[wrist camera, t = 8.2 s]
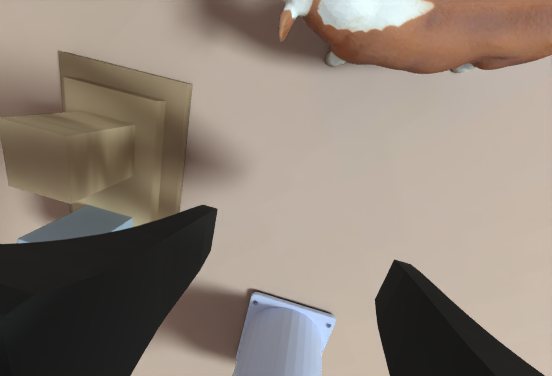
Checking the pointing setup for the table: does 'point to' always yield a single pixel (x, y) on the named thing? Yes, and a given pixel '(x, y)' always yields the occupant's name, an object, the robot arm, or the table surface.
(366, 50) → the bull figurine
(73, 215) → the slate block
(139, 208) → the plinth
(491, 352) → the robot arm
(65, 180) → the brass block
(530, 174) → the table surface
